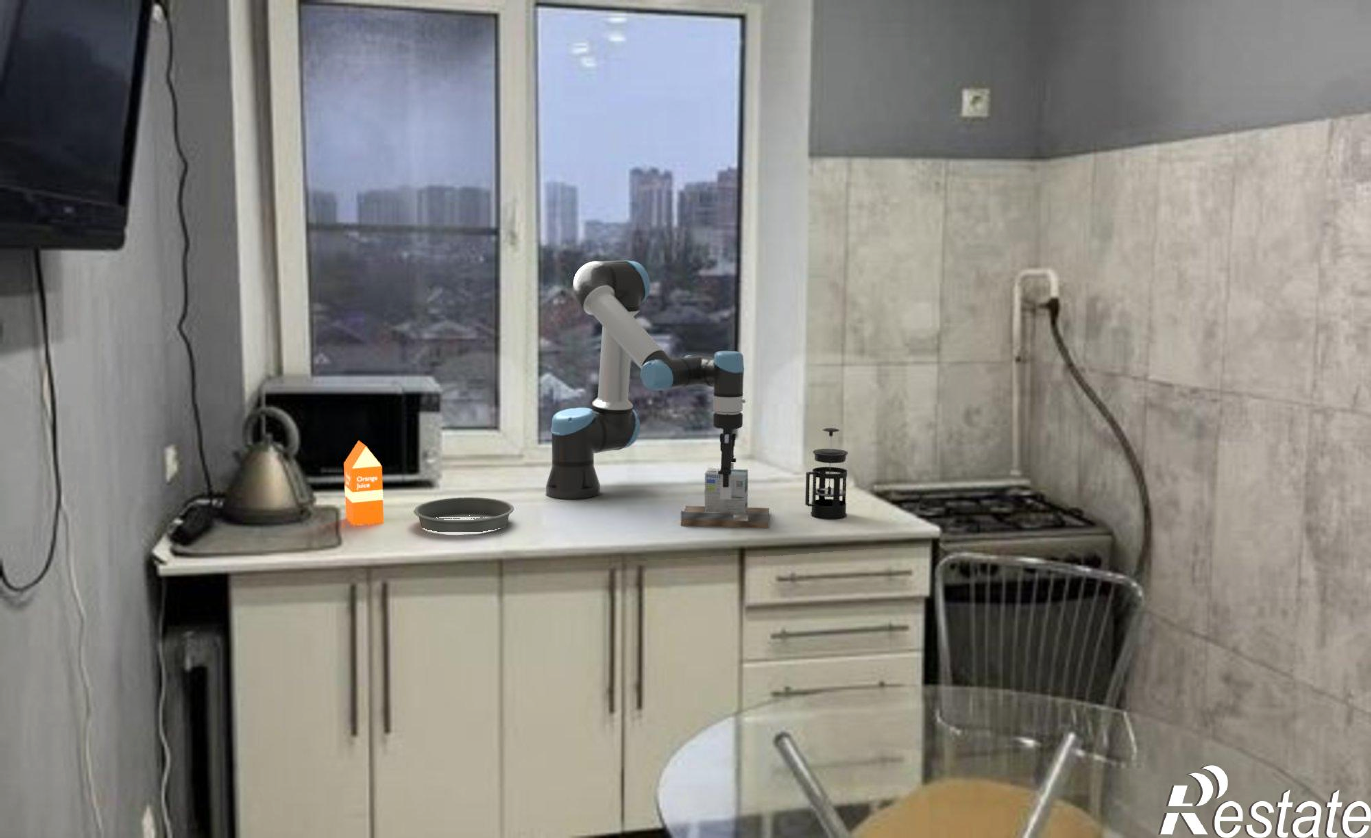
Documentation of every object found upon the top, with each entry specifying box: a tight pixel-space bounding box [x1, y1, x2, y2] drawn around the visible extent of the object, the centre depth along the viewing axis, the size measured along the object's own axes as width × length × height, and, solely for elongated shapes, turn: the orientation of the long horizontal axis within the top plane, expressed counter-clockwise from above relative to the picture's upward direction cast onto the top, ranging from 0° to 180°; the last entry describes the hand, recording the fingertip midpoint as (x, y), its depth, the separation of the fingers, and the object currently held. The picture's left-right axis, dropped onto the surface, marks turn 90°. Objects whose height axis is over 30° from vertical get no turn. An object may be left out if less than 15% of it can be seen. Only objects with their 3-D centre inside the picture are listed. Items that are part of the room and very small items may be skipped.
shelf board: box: [680, 505, 770, 529], centre depth 304 cm, size 22×15×4 cm
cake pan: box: [413, 496, 515, 532], centre depth 297 cm, size 25×25×4 cm
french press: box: [804, 427, 849, 521], centre depth 308 cm, size 12×9×23 cm
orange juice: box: [343, 440, 385, 526], centre depth 298 cm, size 8×9×20 cm
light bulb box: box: [704, 467, 749, 513], centre depth 306 cm, size 11×7×11 cm, turn 81°
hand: (726, 493), depth 306 cm, fingers open, 13 cm apart
